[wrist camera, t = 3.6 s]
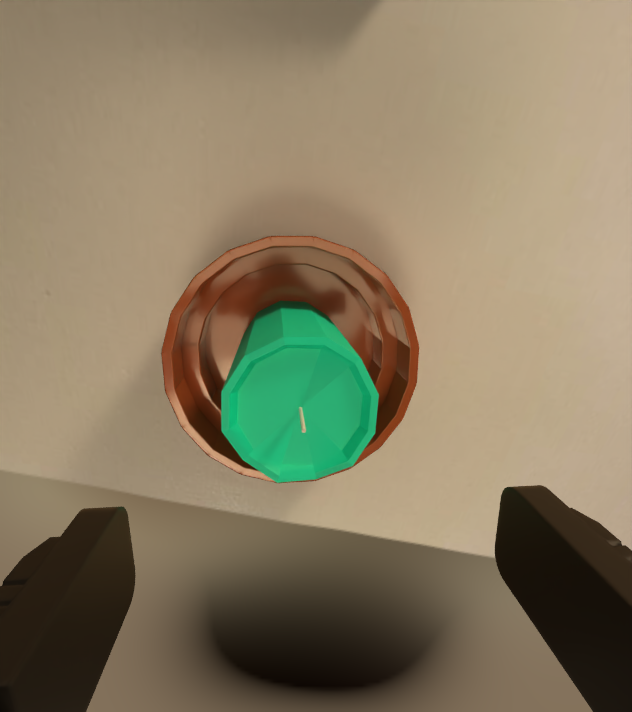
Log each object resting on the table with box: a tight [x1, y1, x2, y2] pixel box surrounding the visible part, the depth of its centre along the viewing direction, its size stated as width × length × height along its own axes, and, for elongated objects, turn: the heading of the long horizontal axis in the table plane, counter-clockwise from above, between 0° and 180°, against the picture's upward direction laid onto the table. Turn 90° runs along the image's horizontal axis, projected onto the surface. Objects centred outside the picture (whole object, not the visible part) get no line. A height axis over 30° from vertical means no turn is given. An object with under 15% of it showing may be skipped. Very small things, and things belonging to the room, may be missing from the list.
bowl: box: [161, 236, 419, 483], centre depth 23 cm, size 13×13×5 cm
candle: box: [221, 301, 379, 483], centre depth 20 cm, size 6×6×12 cm
